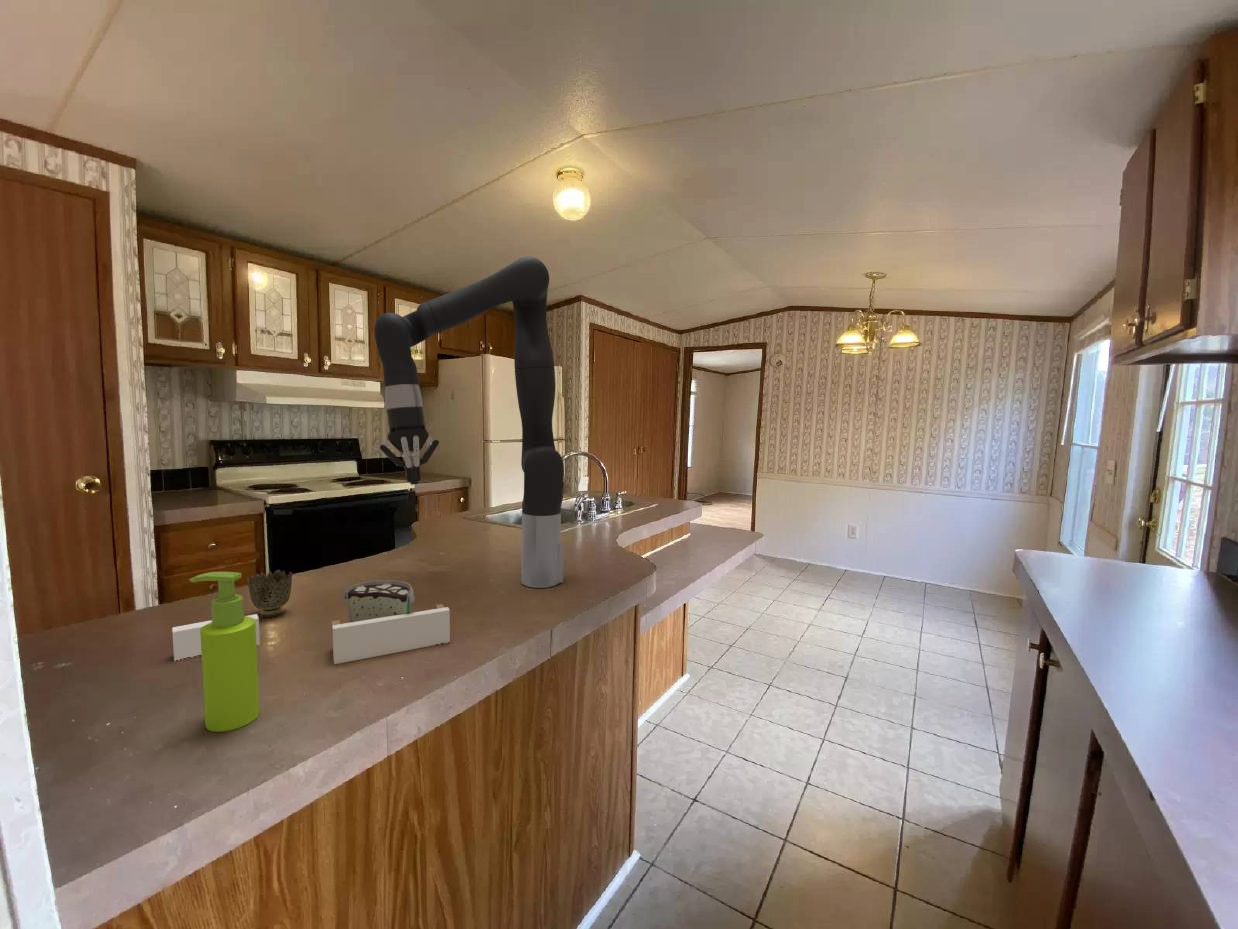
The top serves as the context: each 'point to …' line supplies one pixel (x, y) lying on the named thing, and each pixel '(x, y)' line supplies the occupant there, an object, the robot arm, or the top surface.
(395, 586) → the food container
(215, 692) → the soap dispenser
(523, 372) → the robot arm
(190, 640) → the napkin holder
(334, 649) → the back stop bracket
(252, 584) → the cup
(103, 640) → the top surface
